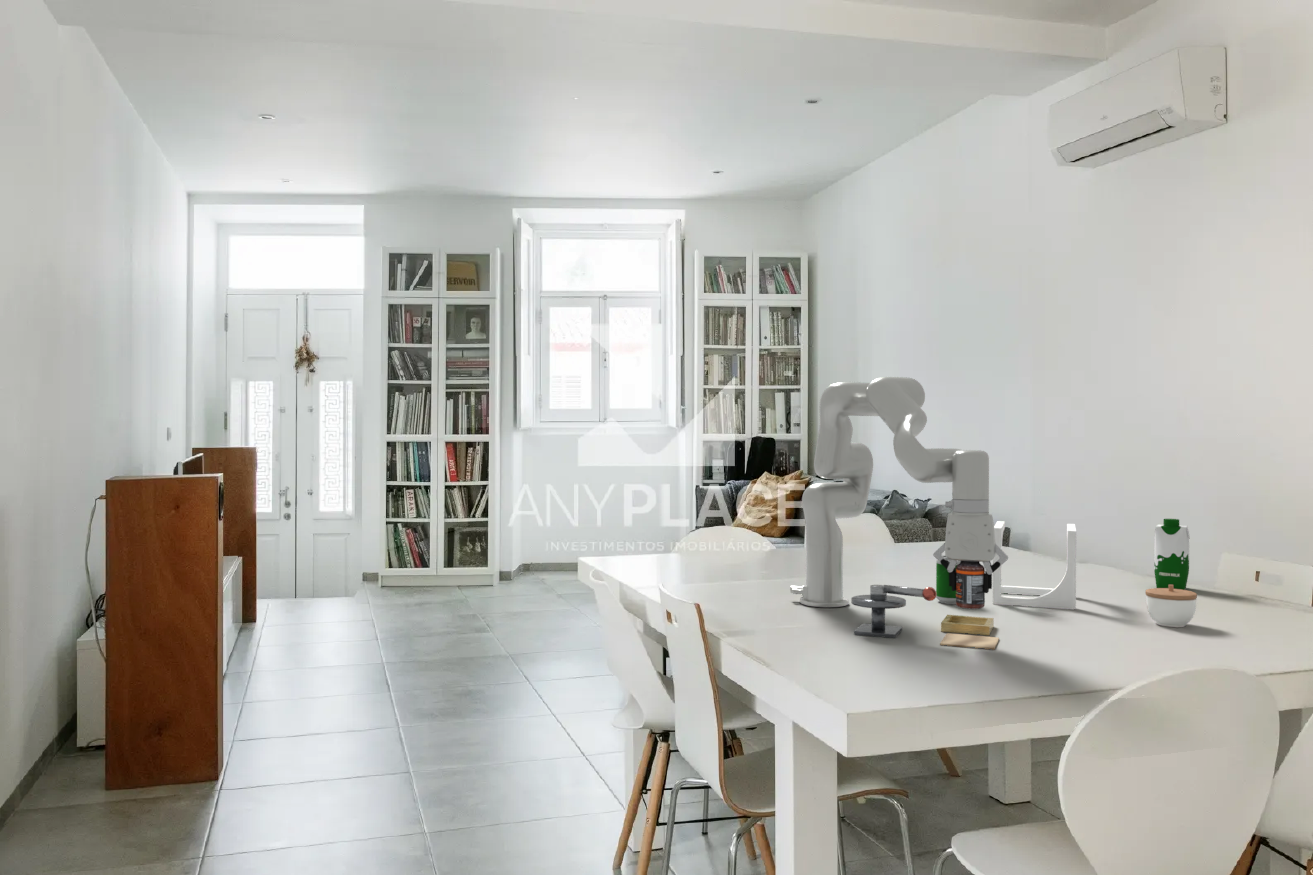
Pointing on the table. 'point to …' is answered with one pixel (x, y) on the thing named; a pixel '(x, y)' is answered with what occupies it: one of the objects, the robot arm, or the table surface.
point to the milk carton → (1171, 554)
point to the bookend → (1050, 597)
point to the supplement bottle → (970, 585)
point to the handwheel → (884, 601)
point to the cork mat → (970, 641)
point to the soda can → (944, 584)
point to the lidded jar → (1171, 606)
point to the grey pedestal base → (878, 626)
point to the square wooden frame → (967, 624)
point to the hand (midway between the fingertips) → (970, 590)
